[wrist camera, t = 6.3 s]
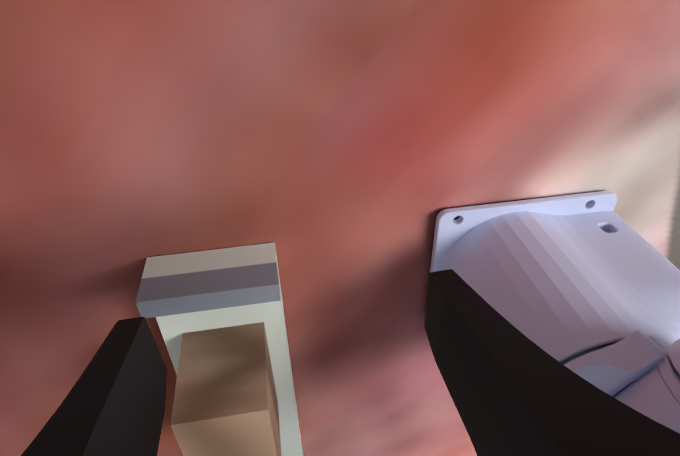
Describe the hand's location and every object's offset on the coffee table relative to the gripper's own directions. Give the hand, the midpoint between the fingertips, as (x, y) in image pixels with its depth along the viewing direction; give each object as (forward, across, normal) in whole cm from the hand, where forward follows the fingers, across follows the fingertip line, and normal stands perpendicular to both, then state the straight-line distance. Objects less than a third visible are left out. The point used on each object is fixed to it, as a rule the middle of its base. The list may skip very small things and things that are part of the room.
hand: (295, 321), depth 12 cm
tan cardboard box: (+8, +4, +12) cm, 15 cm away
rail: (+10, +4, +17) cm, 20 cm away
